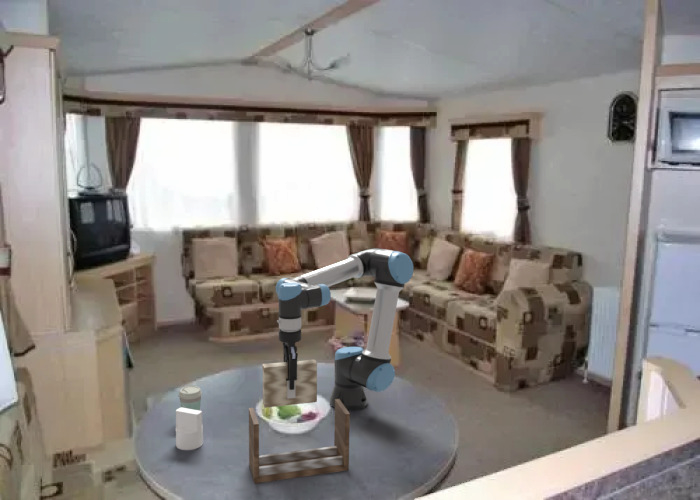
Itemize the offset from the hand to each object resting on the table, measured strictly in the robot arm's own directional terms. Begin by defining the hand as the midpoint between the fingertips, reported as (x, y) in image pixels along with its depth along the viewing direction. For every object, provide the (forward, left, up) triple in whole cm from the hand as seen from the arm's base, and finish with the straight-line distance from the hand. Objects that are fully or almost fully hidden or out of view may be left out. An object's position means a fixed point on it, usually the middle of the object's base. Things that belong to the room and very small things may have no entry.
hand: (290, 395), depth 198 cm
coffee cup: (+32, -29, -18) cm, 47 cm away
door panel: (0, 0, -3) cm, 3 cm away
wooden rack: (0, +15, -18) cm, 24 cm away
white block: (+33, -10, -18) cm, 39 cm away
